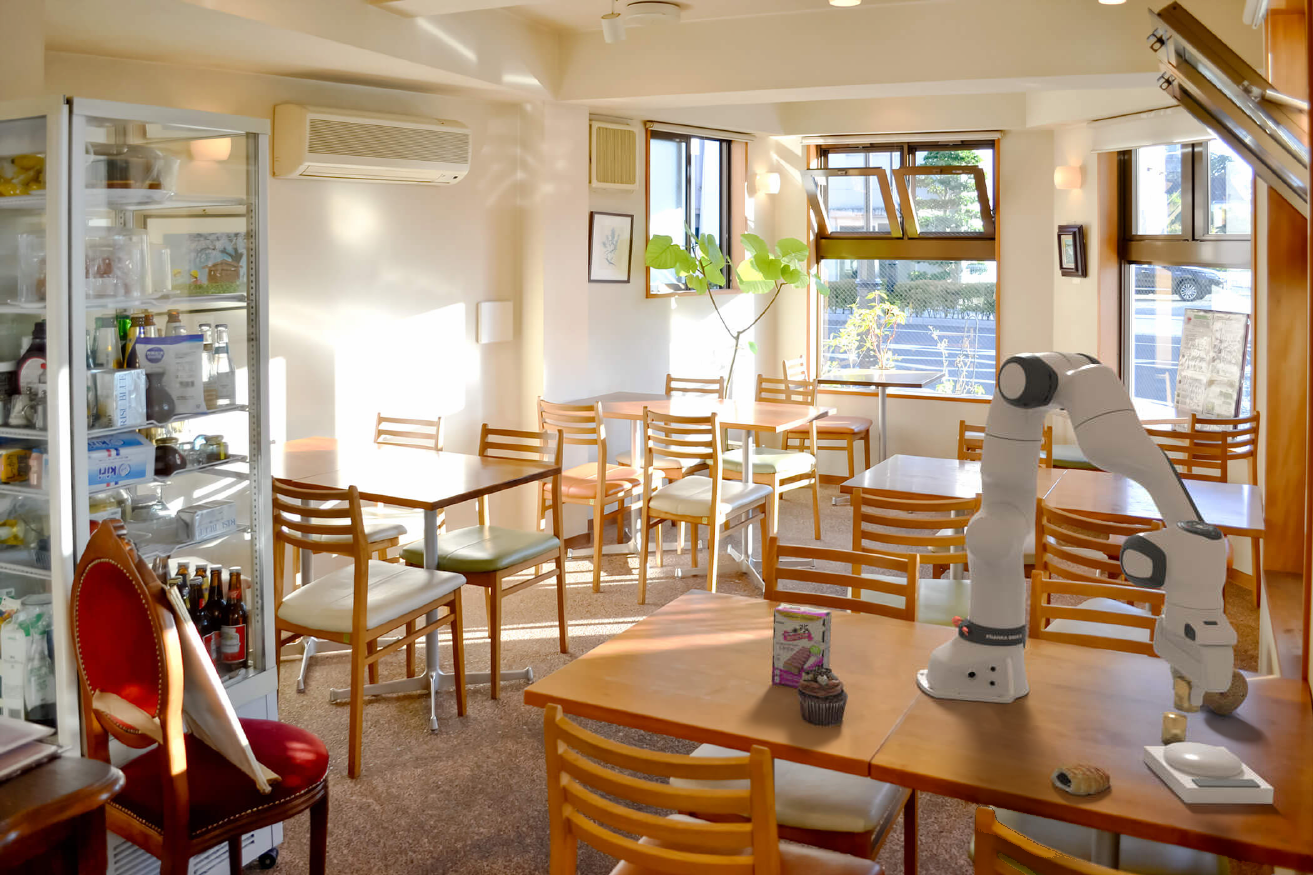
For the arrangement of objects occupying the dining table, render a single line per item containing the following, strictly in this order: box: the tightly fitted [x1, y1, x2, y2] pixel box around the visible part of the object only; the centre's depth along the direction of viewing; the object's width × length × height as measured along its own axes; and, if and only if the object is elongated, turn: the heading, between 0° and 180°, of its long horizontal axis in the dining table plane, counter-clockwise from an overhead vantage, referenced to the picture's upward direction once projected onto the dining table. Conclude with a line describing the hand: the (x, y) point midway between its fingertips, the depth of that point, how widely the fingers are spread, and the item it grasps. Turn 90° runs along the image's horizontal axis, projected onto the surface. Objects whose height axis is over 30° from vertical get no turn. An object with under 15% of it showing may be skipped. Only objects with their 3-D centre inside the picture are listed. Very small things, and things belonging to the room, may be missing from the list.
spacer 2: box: [1160, 711, 1188, 746], centre depth 202 cm, size 4×4×5 cm
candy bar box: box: [771, 603, 832, 689], centre depth 228 cm, size 11×5×16 cm, turn 65°
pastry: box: [1051, 762, 1111, 796], centre depth 184 cm, size 9×7×4 cm
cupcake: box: [796, 665, 849, 727], centre depth 212 cm, size 10×10×10 cm
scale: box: [1142, 741, 1274, 805], centre depth 186 cm, size 14×16×4 cm
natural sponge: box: [1202, 666, 1249, 716], centre depth 214 cm, size 9×9×10 cm
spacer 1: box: [1173, 676, 1201, 714], centre depth 186 cm, size 4×4×5 cm
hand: (1187, 697), depth 186 cm, fingers closed on spacer 1, 4 cm apart
